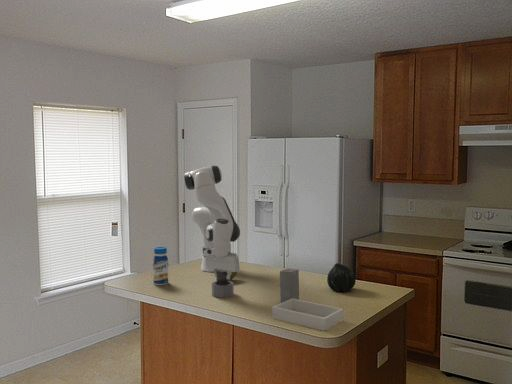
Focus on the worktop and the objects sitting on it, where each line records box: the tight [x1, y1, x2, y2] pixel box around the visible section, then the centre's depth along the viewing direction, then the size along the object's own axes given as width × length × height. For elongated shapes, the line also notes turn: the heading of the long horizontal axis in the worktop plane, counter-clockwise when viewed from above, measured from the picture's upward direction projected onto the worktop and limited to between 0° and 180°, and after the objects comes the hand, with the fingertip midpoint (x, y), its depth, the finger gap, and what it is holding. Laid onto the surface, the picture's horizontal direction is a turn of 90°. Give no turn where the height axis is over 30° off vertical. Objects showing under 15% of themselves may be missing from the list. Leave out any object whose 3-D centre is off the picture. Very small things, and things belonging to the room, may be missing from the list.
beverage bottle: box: [152, 246, 169, 286], centre depth 271 cm, size 8×8×20 cm
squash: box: [326, 263, 356, 293], centre depth 258 cm, size 14×15×15 cm
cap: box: [215, 270, 228, 283], centre depth 249 cm, size 6×6×5 cm
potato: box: [228, 271, 238, 281], centre depth 276 cm, size 8×13×8 cm, turn 139°
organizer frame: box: [271, 298, 344, 331], centre depth 212 cm, size 16×26×5 cm, turn 52°
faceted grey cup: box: [211, 280, 235, 299], centre depth 250 cm, size 11×11×6 cm
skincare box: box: [279, 268, 300, 303], centre depth 237 cm, size 8×7×16 cm
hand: (222, 278), depth 249 cm, fingers closed on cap, 6 cm apart
